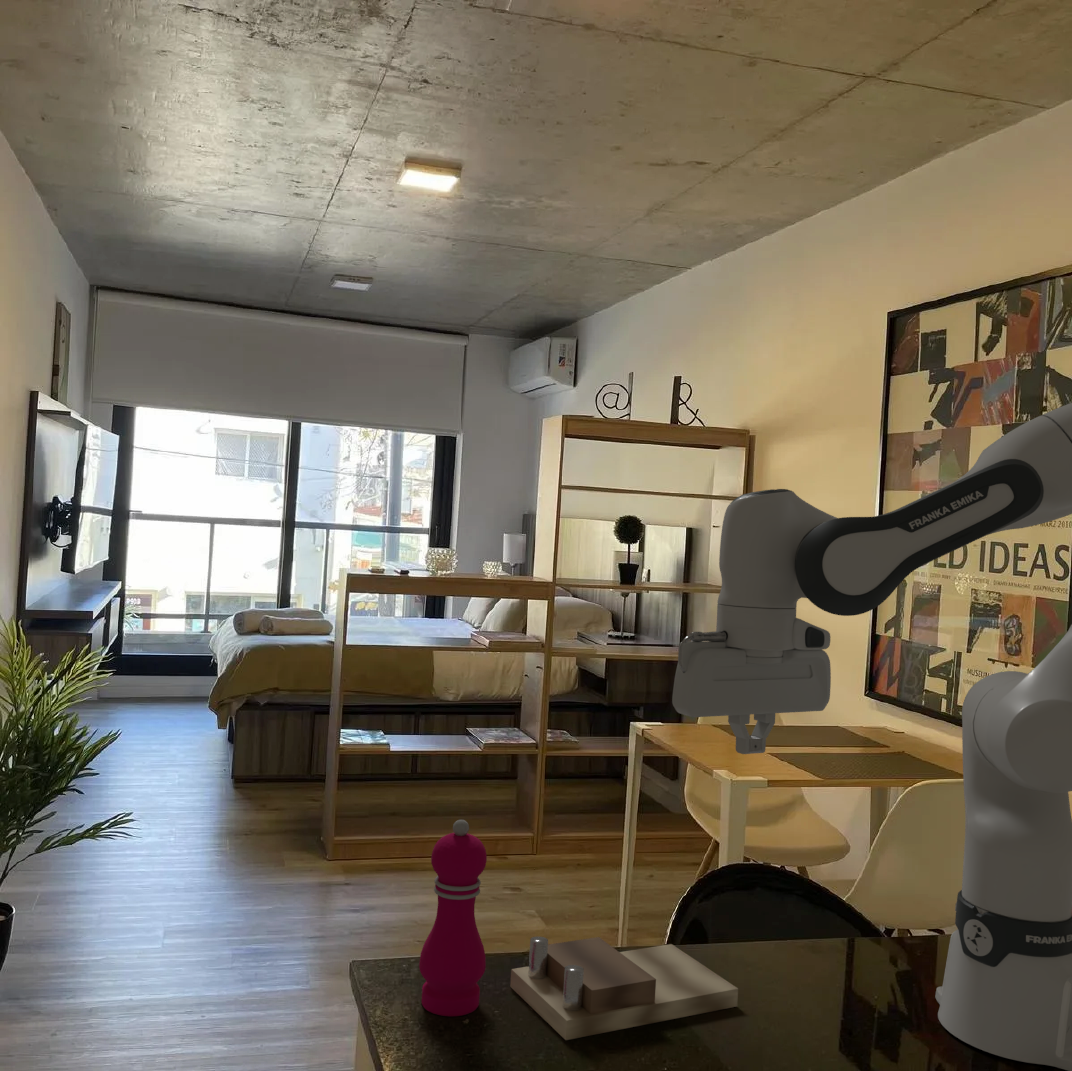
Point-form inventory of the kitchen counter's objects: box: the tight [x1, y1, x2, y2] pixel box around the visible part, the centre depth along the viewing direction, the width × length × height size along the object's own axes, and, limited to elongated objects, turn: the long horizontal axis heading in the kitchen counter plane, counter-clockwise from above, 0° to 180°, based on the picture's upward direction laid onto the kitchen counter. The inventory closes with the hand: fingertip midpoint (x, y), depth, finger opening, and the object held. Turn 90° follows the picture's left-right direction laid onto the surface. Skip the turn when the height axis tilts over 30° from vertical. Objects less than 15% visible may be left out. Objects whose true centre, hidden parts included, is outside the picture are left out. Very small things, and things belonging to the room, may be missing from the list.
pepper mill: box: [418, 819, 488, 1017], centre depth 111 cm, size 7×7×20 cm
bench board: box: [509, 936, 739, 1041], centre depth 115 cm, size 22×13×6 cm, turn 117°
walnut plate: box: [546, 936, 656, 1014], centre depth 113 cm, size 8×12×2 cm, turn 27°
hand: (750, 752), depth 116 cm, fingers closed
